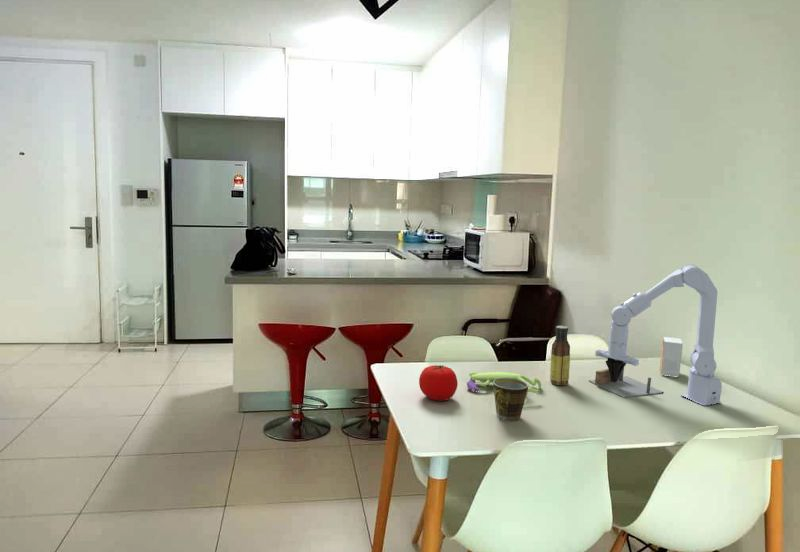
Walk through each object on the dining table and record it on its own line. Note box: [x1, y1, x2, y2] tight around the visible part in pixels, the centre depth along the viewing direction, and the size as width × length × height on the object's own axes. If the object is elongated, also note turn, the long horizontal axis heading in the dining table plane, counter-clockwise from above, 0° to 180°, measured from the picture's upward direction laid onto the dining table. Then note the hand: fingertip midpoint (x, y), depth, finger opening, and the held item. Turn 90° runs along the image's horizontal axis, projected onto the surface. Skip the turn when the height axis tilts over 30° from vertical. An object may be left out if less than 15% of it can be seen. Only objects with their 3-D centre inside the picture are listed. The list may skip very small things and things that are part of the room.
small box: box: [659, 336, 684, 377], centre depth 228 cm, size 8×6×13 cm
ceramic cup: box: [492, 378, 529, 422], centre depth 178 cm, size 13×10×10 cm
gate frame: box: [588, 367, 663, 399], centre depth 211 cm, size 17×17×6 cm
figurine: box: [466, 371, 542, 394], centre depth 203 cm, size 18×27×6 cm
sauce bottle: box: [549, 325, 571, 386], centre depth 211 cm, size 6×6×20 cm
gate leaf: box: [594, 368, 619, 386], centre depth 213 cm, size 11×1×4 cm, turn 123°
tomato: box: [418, 364, 458, 402], centre depth 191 cm, size 12×12×10 cm
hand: (614, 381), depth 209 cm, fingers closed
